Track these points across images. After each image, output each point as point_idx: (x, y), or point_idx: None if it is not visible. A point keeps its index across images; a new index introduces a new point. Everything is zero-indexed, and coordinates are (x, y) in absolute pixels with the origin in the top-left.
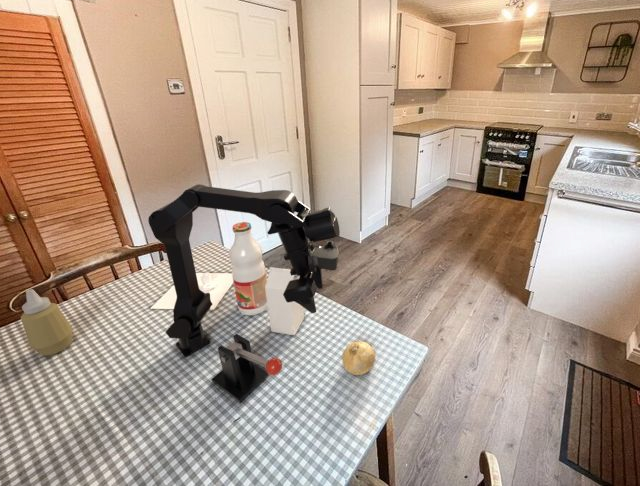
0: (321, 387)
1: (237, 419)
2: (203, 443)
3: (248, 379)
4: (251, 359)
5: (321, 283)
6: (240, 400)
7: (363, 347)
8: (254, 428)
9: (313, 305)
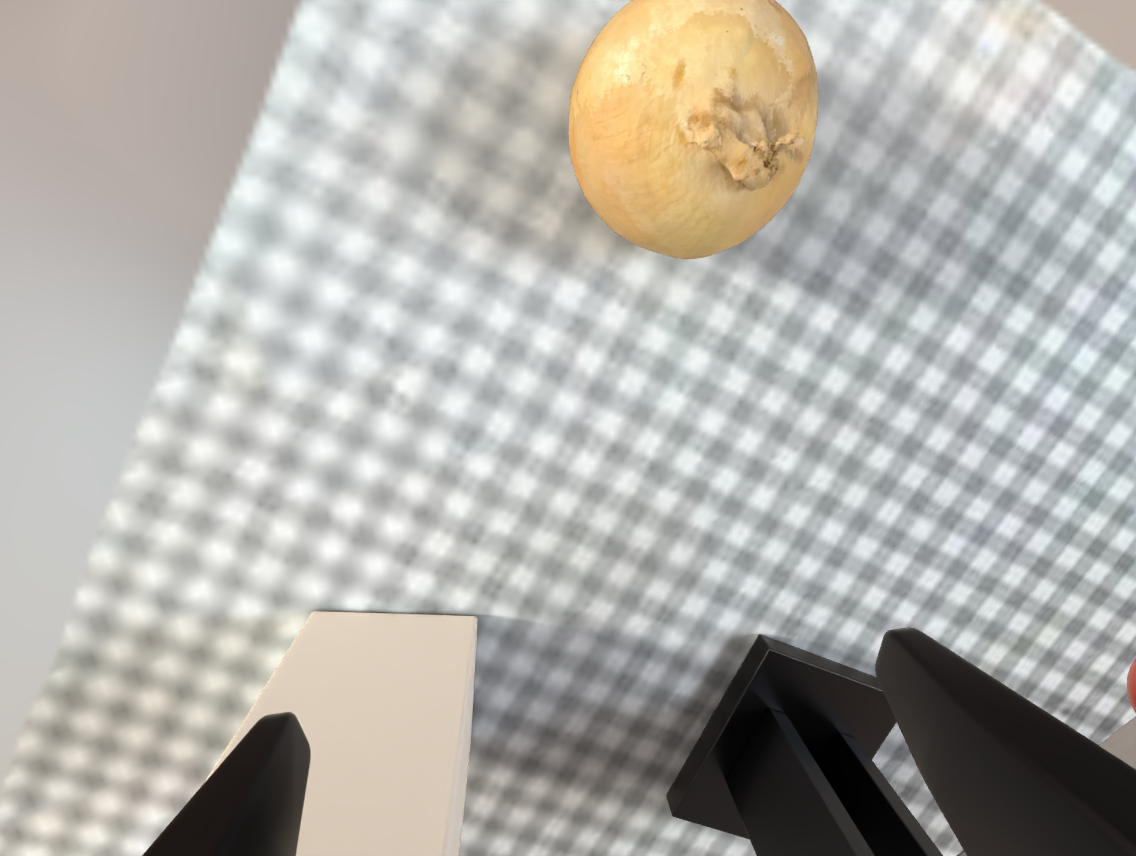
0: (813, 354)
1: None
2: None
3: (809, 716)
4: None
5: (244, 812)
6: None
7: (729, 48)
8: (997, 583)
9: (1133, 776)
